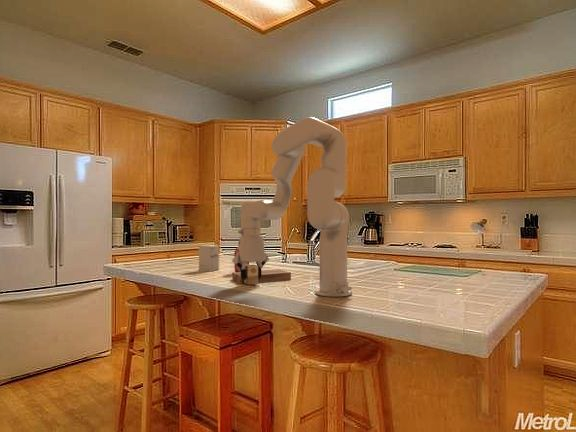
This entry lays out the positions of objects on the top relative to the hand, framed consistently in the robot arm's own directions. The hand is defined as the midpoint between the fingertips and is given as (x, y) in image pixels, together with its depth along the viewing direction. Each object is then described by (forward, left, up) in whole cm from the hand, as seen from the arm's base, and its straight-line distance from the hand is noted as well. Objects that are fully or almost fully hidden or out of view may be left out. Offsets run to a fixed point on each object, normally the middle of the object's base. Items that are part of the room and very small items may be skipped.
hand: (251, 278), depth 146 cm
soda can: (+32, -7, -3) cm, 33 cm away
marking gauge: (+3, 0, -2) cm, 4 cm away
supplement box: (+48, +5, -3) cm, 48 cm away
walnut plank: (+9, -8, -2) cm, 12 cm away
